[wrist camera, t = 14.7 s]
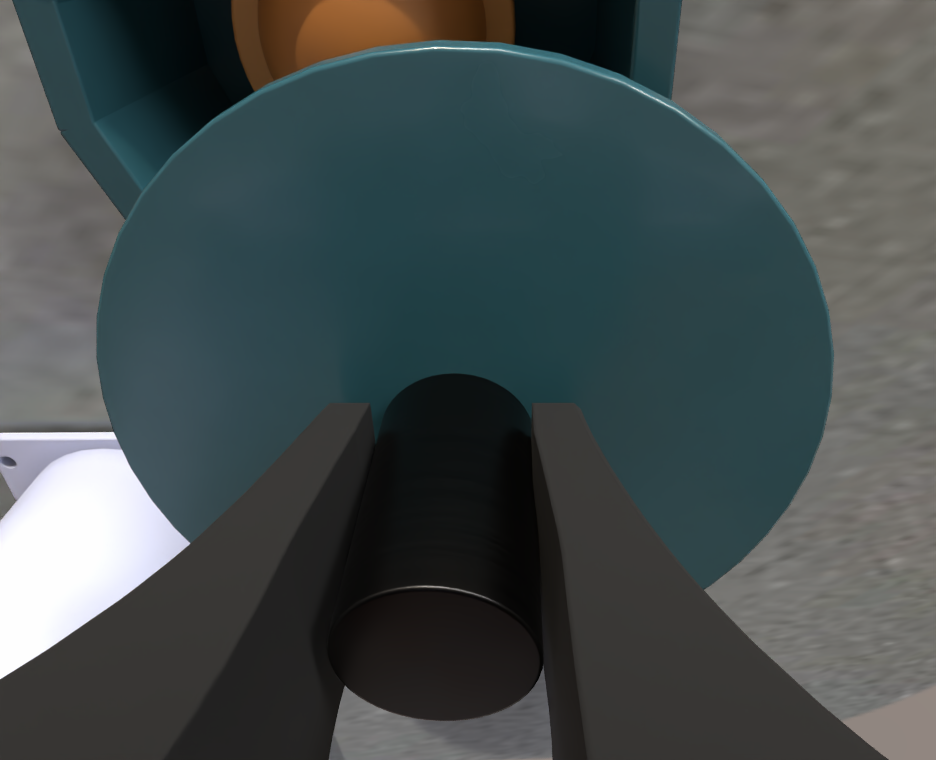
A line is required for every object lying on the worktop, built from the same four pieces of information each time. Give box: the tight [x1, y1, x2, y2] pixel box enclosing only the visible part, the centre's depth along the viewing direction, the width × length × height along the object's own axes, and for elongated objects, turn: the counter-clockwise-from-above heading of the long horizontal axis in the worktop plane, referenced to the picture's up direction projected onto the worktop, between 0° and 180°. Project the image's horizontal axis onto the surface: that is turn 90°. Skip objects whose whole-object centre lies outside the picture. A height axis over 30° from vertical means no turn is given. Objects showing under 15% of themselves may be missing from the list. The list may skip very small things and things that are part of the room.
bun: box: [231, 0, 516, 91], centre depth 14 cm, size 5×5×5 cm
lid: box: [97, 40, 834, 721], centre depth 10 cm, size 11×11×5 cm
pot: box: [12, 0, 682, 220], centre depth 14 cm, size 10×10×6 cm
